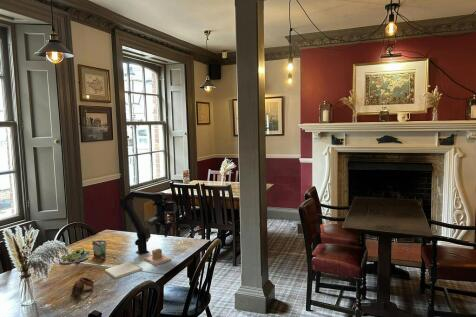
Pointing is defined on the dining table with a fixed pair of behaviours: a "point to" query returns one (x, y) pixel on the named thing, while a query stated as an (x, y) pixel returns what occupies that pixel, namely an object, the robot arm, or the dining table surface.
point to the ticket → (123, 269)
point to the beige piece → (157, 257)
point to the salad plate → (75, 256)
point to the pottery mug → (81, 286)
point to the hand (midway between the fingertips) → (161, 235)
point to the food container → (99, 249)
